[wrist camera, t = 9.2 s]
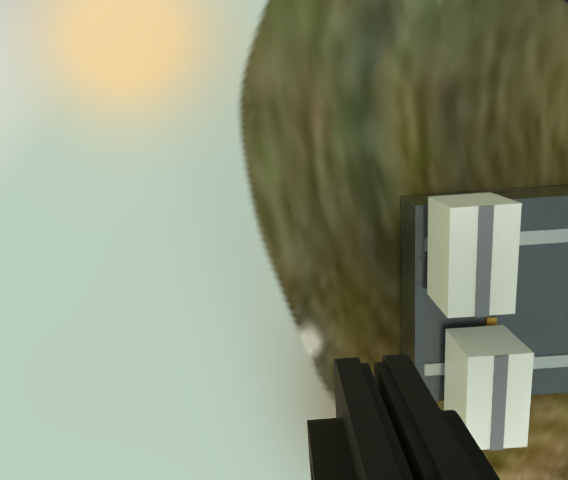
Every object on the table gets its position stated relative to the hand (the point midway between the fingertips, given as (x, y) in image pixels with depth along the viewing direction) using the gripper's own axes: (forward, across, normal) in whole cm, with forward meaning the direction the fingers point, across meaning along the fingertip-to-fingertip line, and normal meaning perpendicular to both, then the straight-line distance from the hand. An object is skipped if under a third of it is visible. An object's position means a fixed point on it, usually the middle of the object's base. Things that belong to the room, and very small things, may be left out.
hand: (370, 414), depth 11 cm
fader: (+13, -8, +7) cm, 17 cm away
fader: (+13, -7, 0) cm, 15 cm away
